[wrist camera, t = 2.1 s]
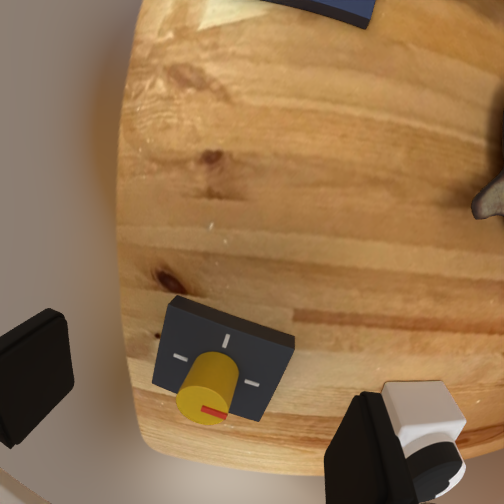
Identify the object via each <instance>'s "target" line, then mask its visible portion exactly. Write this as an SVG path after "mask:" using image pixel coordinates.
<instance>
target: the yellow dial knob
mask: <svg viewBox="0 0 504 504" xmlns="http://www.w3.org/2000/svg"><path fill="white" fill-rule="evenodd" d="M238 377H239V371H238V367H237V365H236V364H235V362H234V361H233V360H232V359H231V358H230V357H228V356H227V355H225V354H222V353H219V352H206V353H203V354H201V355H199V356H198V357H197V358H196V360H195V362H194V364H193V365H192V367H191V369H190V371H189V373H188V375H187V377H186V379H185V380H184V382H183V384H182V386H181V388H180V390H179V392H178V394H177V396H176V404H177V407H178V409H179V410H180V412H181V413H182V414H183V415H184V416H185V417H187V418H188V419H190V420H191V421H193V422H196V423H199V424H203V425H214V424H218V423H220V422H222V421H223V420H225V419H226V417H227V415H228V412H229V408H230V405H231V401H232V398H233V394H234V391H235V387H236V384H237V380H238Z"/></svg>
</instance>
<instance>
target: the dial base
mask: <svg viewBox="0 0 504 504" xmlns="http://www.w3.org/2000/svg"><path fill="white" fill-rule="evenodd" d="M294 350H295V337H294V336H291V335H288V334H285V333H282V332H279V331H276V330H273V329H270V328H267V327H264V326H261V325H258V324H255V323H252V322H249V321H246V320H244V319H241V318H238V317H235V316H232V315H229V314H227V313H224V312H221V311H218V310H216V309H213V308H210V307H207V306H205V305H202V304H199V303H197V302H194V301H191V300H189V299H186V298H184V297H181V296H178V295H177V296H176V297H175V298H174V299H173V300H172V301H171V302H170V303H169V304H168V307H167V311H166V316H165V320H164V325H163V329H162V334H161V339H160V343H159V348H158V353H157V358H156V363H155V368H154V373H153V379H152V384H155V385H157V386H159V387H162V388H164V389H166V390H169V391H171V392H174V393H176V394H178V392H179V390H180V388H181V386H182V384H183V382H184V380H185V379H186V377H187V375H188V373H189V371H190V369H191V367H192V365H193V364H194V362H195V360H196V358H197V357H198V356H199V355H201V354H203V353H206V352H219V353H222V354H225V355H227V356H228V357H230V358H231V359H232V360H233V361H234V362H235V364H236V365H237V367H238V371H239V377H238V380H237V384H236V387H235V391H234V394H233V398H232V401H231V405H230V408H229V412H228V413H231V414H234V415H237V416H241V417H244V418H247V419H250V420H254V421H257V422H259V421H260V419H261V417H262V415H263V413H264V411H265V409H266V408H267V406H268V404H269V402H270V400H271V398H272V396H273V394H274V392H275V390H276V388H277V386H278V384H279V382H280V379H281V377H282V375H283V373H284V371H285V369H286V367H287V365H288V363H289V361H290V359H291V356H292V354H293V352H294Z"/></svg>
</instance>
